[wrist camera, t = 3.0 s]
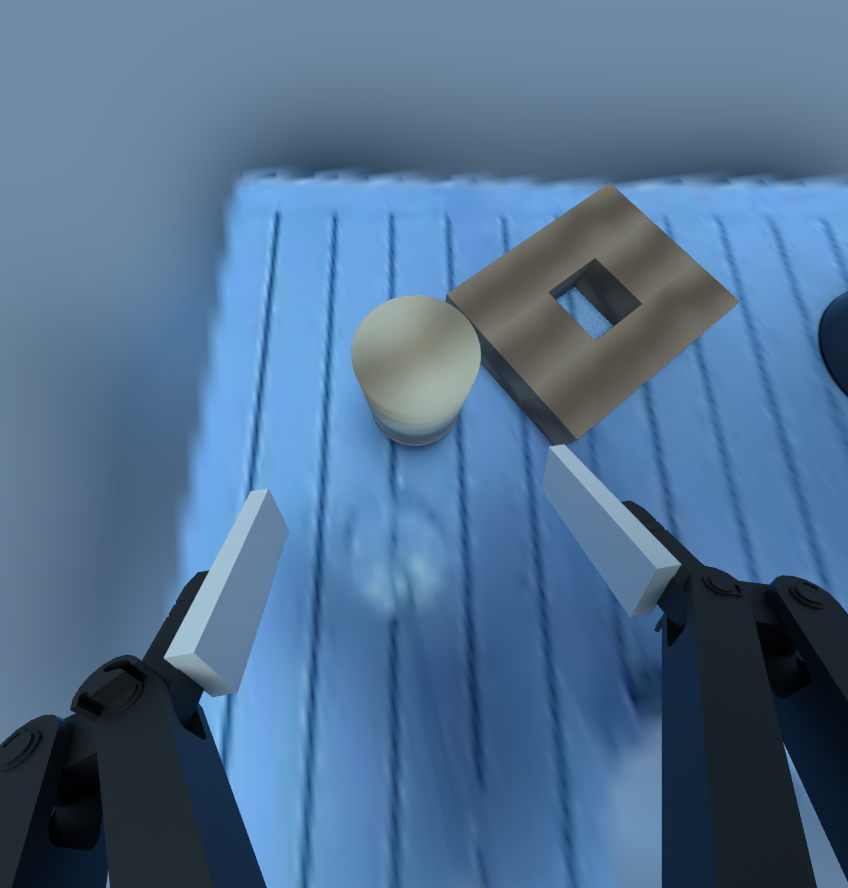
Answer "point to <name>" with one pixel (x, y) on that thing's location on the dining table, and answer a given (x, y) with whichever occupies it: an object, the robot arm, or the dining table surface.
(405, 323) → the ash peg
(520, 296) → the walnut board
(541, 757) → the dining table surface
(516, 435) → the dining table surface
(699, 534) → the dining table surface
